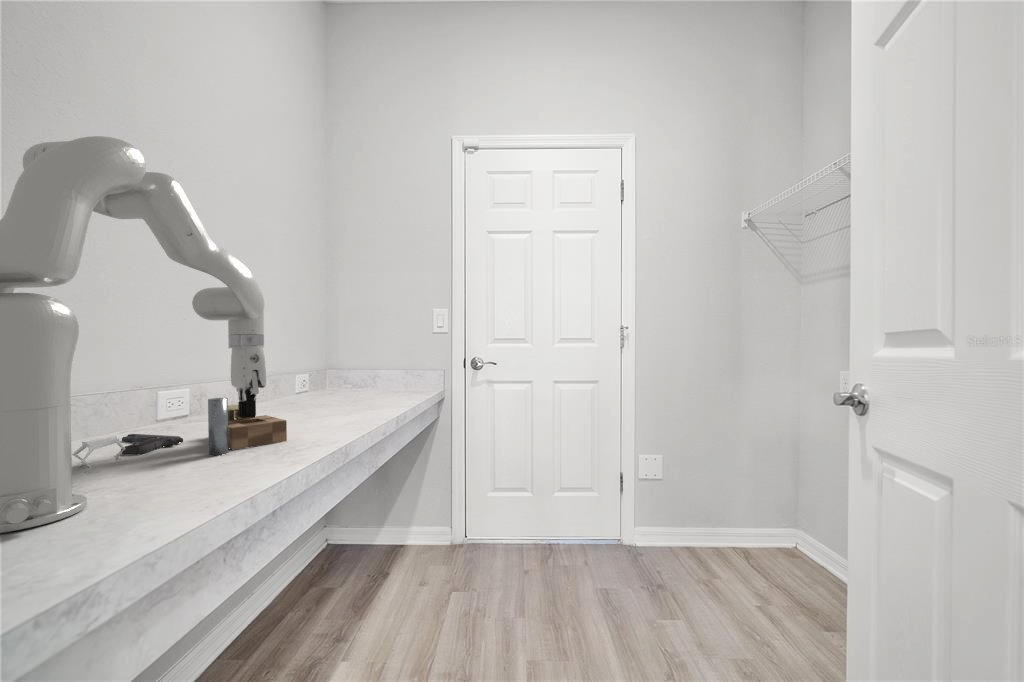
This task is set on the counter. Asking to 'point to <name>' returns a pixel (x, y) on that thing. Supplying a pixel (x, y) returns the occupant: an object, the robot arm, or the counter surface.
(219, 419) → the peg
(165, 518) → the counter surface
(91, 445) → the white folding stand
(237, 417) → the bar
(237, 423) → the dock
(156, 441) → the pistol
